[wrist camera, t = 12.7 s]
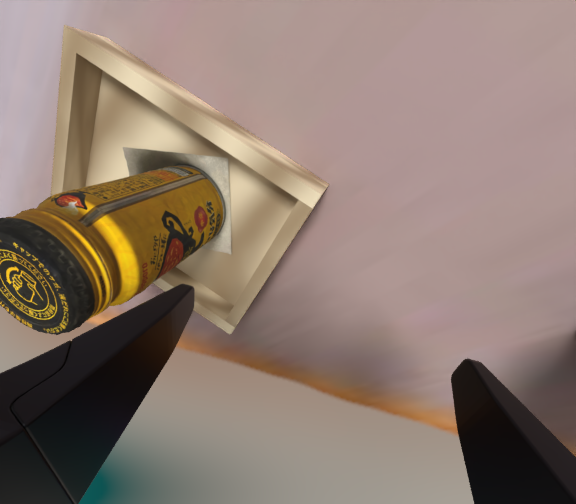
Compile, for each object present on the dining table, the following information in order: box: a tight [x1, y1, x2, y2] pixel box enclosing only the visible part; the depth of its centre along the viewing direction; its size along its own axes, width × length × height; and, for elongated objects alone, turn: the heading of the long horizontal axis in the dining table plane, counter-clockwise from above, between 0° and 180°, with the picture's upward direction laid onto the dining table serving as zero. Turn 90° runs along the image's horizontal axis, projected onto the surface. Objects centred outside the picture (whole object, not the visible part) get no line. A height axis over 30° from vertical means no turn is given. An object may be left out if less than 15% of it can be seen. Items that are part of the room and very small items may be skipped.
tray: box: [51, 25, 329, 335], centre depth 21 cm, size 18×14×3 cm
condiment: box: [0, 147, 231, 335], centre depth 17 cm, size 7×8×12 cm
